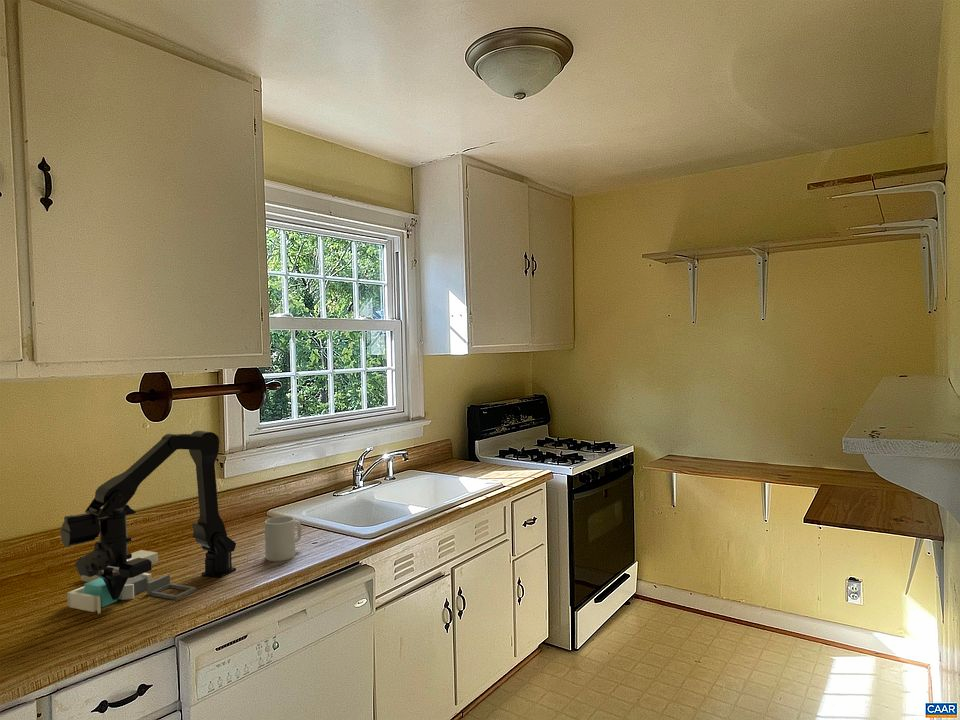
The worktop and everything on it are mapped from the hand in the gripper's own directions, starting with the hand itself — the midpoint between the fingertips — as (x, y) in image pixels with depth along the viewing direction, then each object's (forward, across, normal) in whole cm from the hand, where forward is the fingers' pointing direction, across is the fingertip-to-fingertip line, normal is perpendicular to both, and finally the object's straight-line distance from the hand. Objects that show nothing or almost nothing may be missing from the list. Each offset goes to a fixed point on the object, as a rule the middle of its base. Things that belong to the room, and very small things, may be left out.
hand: (115, 599), depth 149 cm
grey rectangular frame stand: (+2, +8, +10) cm, 13 cm away
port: (+2, -6, +4) cm, 7 cm away
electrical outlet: (+2, -20, +18) cm, 27 cm away
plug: (+2, -5, 0) cm, 5 cm away
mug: (+2, +16, +44) cm, 46 cm away
